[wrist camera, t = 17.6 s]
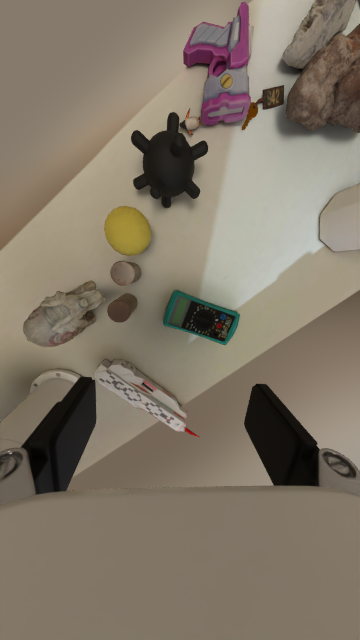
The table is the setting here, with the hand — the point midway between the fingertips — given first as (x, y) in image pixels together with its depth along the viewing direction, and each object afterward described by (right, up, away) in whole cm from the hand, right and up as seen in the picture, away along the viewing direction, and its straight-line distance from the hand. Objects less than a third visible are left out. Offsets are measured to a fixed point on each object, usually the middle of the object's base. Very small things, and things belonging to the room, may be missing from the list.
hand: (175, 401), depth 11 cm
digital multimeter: (+5, +6, +28) cm, 29 cm away
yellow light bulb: (-8, +20, +23) cm, 32 cm away
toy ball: (-1, +29, +21) cm, 36 cm away
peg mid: (-9, +14, +25) cm, 30 cm away
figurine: (-19, +7, +26) cm, 33 cm away
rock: (+24, +42, +21) cm, 53 cm away
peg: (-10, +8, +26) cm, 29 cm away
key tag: (+14, +39, +19) cm, 46 cm away
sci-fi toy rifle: (-16, -4, +28) cm, 32 cm away
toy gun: (+1, +41, +17) cm, 44 cm away
